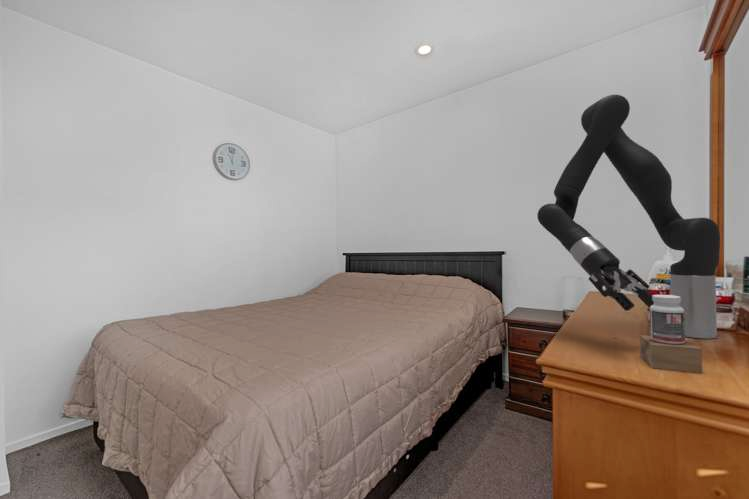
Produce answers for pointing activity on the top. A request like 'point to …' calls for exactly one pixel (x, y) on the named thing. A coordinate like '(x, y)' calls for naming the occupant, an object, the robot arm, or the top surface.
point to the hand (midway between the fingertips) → (642, 307)
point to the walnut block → (671, 355)
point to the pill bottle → (667, 320)
